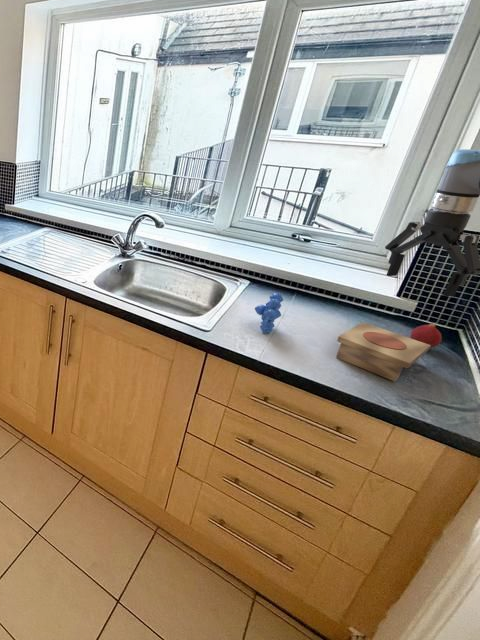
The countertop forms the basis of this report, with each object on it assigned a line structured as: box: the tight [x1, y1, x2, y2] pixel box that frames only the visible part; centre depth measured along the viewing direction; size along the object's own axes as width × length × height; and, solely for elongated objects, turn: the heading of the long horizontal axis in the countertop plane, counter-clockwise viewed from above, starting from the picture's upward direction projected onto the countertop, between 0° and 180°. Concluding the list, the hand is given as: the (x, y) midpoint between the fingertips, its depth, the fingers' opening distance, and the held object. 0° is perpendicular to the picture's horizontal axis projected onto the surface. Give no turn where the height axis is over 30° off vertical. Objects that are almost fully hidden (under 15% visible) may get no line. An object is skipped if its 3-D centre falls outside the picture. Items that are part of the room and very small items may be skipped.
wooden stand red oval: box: [335, 321, 431, 382], centre depth 111 cm, size 14×16×6 cm
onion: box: [409, 323, 442, 348], centre depth 116 cm, size 6×6×8 cm
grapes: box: [254, 292, 284, 334], centre depth 124 cm, size 12×7×12 cm, turn 140°
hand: (418, 285), depth 116 cm, fingers open, 13 cm apart
